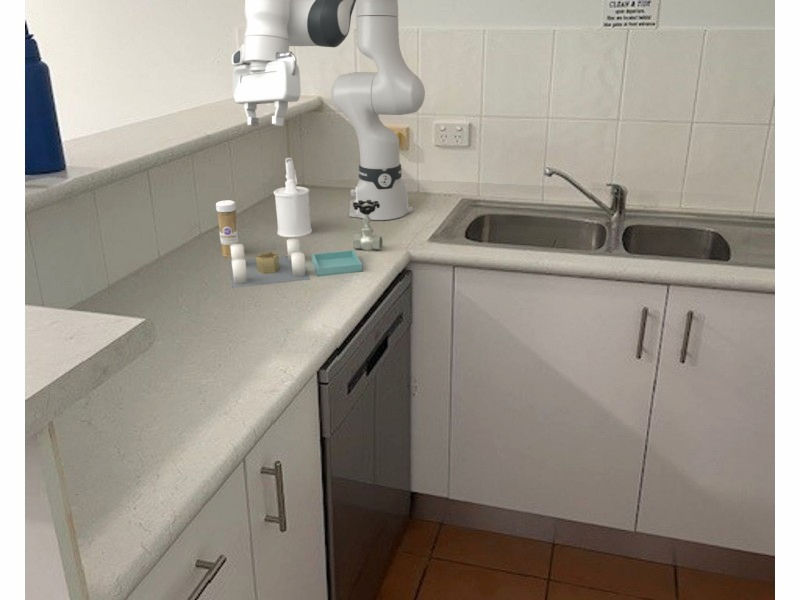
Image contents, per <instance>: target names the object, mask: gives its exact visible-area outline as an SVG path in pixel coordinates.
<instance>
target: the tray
mask: <svg viewBox="0 0 800 600" xmlns="http://www.w3.org/2000/svg"><path fill="white" fill-rule="evenodd" d="M359 258H360V257H359V256H358V255H357V253H356V251H355V249H352V250H351V249H349V250H339V251H330V252H319V253H318V252H317V253H311V263H312V266H313V268H314V270H315V273H316V275H317V277H325V276H335V275H344V274H352V273H353V274H354V273H361V272H363V264H362V263H363V262H361V260H360V259H359Z"/></svg>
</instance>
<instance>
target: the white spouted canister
mask: <svg viewBox="0 0 800 600" xmlns="http://www.w3.org/2000/svg"><path fill="white" fill-rule="evenodd" d="M284 163H285V171H286V173H285V175H284V177H285V179H286V180H285V182H284V184H285V186H284V187H280V188H277V189H275V190H274V191H273V195H274V197H275V198H274V199H275V201H274V202H275V209H276V220H277V221H276V222H277V232H276V233H277V235H278V236H279V237H283V238H284V237H285V238H299V237H300V238H301V237H304V236H305V237H306V236H308V235H310V234H312V233H313V228H312V226H311V225H312V223H311V213H310V212H311V210H310V195H309V193H310V189H309V188H308V187H305V186H297V185H298V184H299V182H298V179H297V178H298V177H297V176H298V175H297V174H296V173H297V171H296V169H295V167H294V166H295V165H294V160H293V159H292V157H286V158H285V162H284Z"/></svg>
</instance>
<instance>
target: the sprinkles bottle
mask: <svg viewBox="0 0 800 600" xmlns="http://www.w3.org/2000/svg"><path fill="white" fill-rule="evenodd" d="M215 209H216V213H217V219H218V227H219V229H218V230H219V238H220V240H219V241H220V244H221V245H220V247H221V256H222V257H224V258H232V257H231V249H230V246H231V245H232V244H240V239H239V230H238V221H237V215H236V214H237V213H236V211H237V207H236V202H235V201H234V200H230V199H228V200H227V199H225V200H220V201H217V202H216V203H215Z"/></svg>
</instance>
